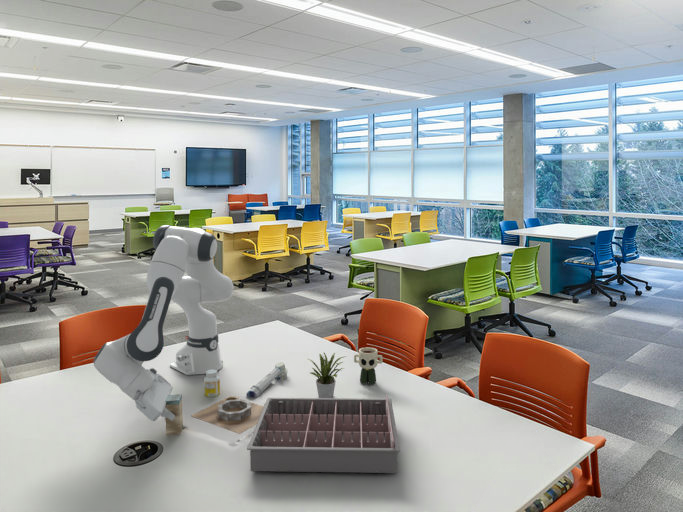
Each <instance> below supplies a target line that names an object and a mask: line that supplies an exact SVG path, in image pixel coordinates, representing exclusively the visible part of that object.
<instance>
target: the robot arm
mask: <svg viewBox="0 0 683 512" xmlns="http://www.w3.org/2000/svg"><path fill="white" fill-rule="evenodd" d="M217 240H218V239H217V238H216V237H215V235H214V234H212V233H210V232H208V231H205V230H204V229H202V228H199V227H192V228H191V227H185V226H184V227H182V226H172V225H171V224H170V225H169V224H165V225H164V224H163V225H161V226H160V227H158V228H157V229H156V230H155V232H154V235H153V239H152V245H153V248H154V249H155V252H153V253H154V254H153V255H152V258H151V261H150V263H149V266H148V269H147V273H146V279H145V284H146V287H147V288H148V299H147V302H146V305H145V308H144V311H143V315H142V318H141V320H140V322H139V324H138V325H137V327H136V328H135V329H133V331H132V332H131V333H128V334H127V335H125V336H123V337H120V338H119V339H115V340H113V341H108V342H107V341H106V342H105V343H104V344H103V345H102V346H101V348H99V350H98V352H97V353H96V354H95V356H94V358H93V366H94V368H95V370H96V371H97V372H98V373H99V374H100V375H101V376H103V377H104V378H105V379H106V380H107V381H109V382H110V383H111V384H114V385H116V386H117V387H118V388H119V389H120V391H121V392H123V394H125V395H127V396H128V397H129V398H131V399H132V400H133V401H134V403H135V406H136V409H138V410H139V412H140V413H142V414H143V415H144V416H145V417H146V418H147V419H148V420H150V421H152V422H155V421H157V420H158V419H159V418H160V417H163V418H165V417H166V418H168V419H170V420H171V421H172V420H173V419H174V418H175V416H176V414H175V413H174V412H170V411H168V410H167V408H165V405H166V402H165V401H166V398H167V396H168V395H171V393H172V391H173V385H172V384H171V383H170V382H169V381H168V380H167V379H166V378H164V376H162V375H161V374H160V373H158V370H157V369H156V368H155V367H150V368H145V367H144V366H143V363H144V362H149V361H152V360H154V359H156V358H157V357H158V356H159V355H160V354H161V353H162V351H163V349H164V343H165V340H164V329H163V328H164V323H165V319H166V317H167V313H168V310H169V306H170V304H171V302H173V303H175V304H176V305H178V306H179V307H180V308H181V309H182V311H183V313H184V314H185V315H186V319H187V324H188V335H187V336H185V337H184V339H185V340H186V343H185V344H184V345H183V346H182V347H181V348H180V349H179V350H177V351H176V355H175V360H174V361H173V362H171V363H170V364H169V366H170V368H172V369H175V370H176V371H178V372H180V373H182V374H184V375H186V376H192V375H206V371H208V370H212V369H214V370H217V371H219V370H221V369H222V368H223V359H222V358H221V357H222V355H221V349H220V345H219V334H218V331H217V330H218V327H217V326H218V325H217V323H218V322H217V316H216V314H214V312H212V311H210V310H208V309H205V308H204V307H203V306H201V305H202V303H219V302H224V301H226V300H229V299H230V298H231V297H232V296H233V293H234V288H235V287H234V286H235V285H234V283H233V280H232V279H231V278H230V277H229V276H227V275H225V274H223V273H221V272H220V271H219V270H218V269H217V268H216V266H215V264H214V257H215V255H216V253H217V250H218V241H217ZM185 274H186V275H185Z"/></svg>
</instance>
